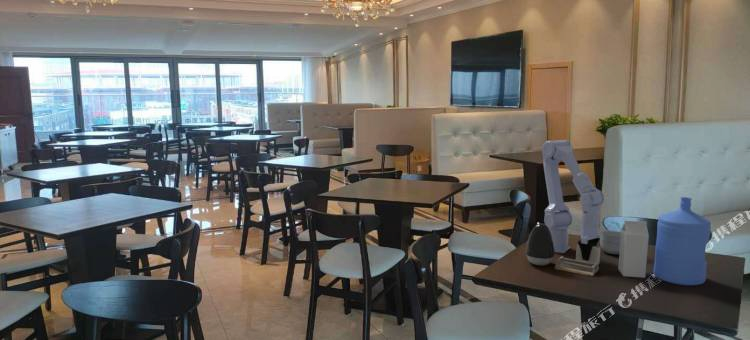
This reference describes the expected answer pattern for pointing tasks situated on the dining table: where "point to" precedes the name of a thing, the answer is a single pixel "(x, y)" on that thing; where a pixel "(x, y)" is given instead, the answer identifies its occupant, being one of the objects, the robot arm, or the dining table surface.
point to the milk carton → (633, 249)
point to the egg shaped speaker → (540, 246)
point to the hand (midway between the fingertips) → (587, 257)
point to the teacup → (610, 241)
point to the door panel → (593, 256)
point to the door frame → (576, 266)
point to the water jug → (681, 246)
